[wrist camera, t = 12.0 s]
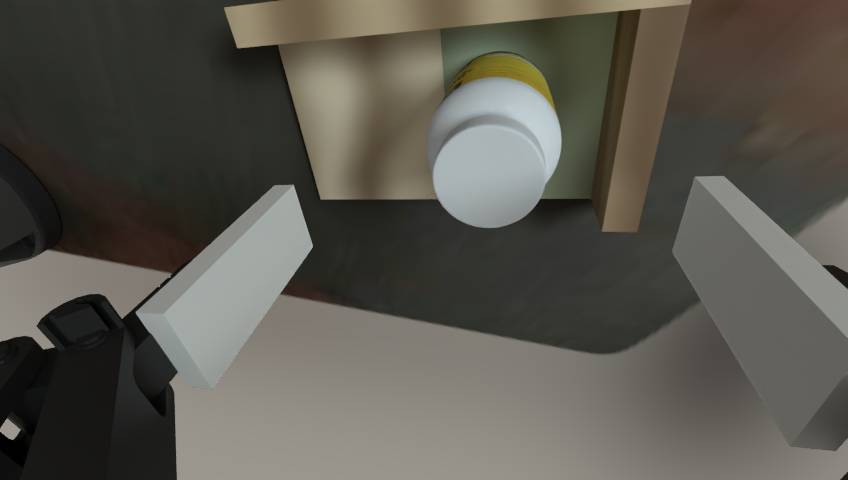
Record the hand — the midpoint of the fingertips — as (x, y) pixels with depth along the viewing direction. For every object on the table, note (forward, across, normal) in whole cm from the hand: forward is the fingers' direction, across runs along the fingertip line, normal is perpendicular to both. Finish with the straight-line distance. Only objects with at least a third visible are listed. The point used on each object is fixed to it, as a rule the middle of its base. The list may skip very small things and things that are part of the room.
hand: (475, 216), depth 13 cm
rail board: (+15, -3, 0) cm, 16 cm away
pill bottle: (+15, 0, 0) cm, 15 cm away
